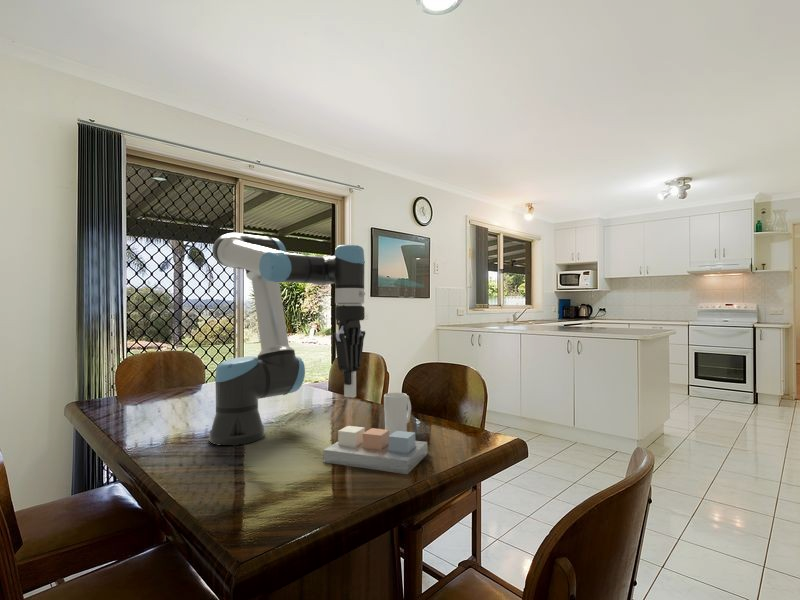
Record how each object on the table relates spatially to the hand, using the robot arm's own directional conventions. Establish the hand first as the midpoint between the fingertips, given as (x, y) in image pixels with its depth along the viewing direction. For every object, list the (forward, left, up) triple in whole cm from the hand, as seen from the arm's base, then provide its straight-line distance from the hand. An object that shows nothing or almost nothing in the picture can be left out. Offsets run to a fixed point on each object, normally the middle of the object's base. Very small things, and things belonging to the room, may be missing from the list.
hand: (350, 396), depth 105 cm
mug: (+5, +20, -15) cm, 25 cm away
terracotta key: (+7, 0, -13) cm, 15 cm away
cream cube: (0, 0, -13) cm, 13 cm away
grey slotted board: (+7, 0, -15) cm, 16 cm away
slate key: (+14, 0, -13) cm, 19 cm away
